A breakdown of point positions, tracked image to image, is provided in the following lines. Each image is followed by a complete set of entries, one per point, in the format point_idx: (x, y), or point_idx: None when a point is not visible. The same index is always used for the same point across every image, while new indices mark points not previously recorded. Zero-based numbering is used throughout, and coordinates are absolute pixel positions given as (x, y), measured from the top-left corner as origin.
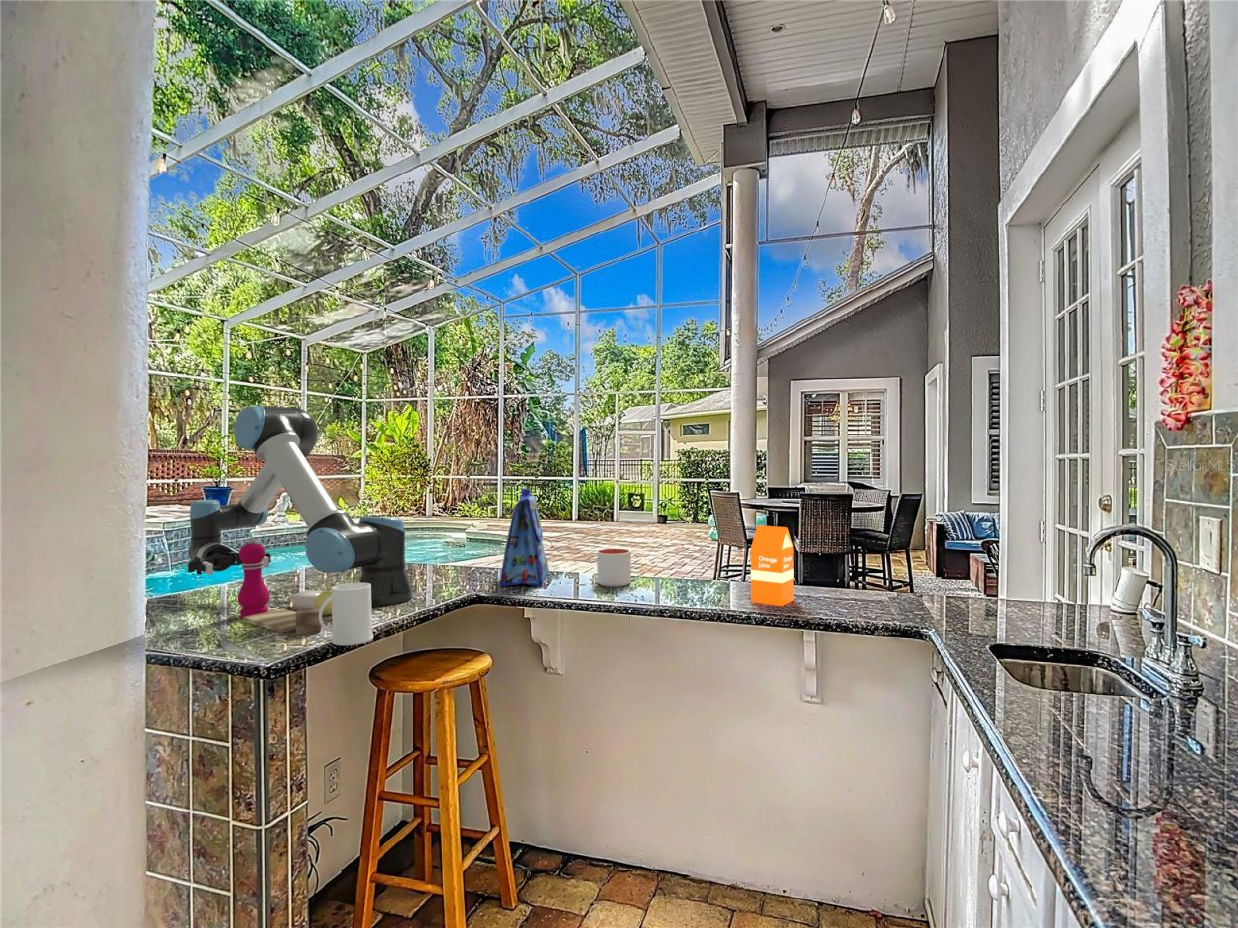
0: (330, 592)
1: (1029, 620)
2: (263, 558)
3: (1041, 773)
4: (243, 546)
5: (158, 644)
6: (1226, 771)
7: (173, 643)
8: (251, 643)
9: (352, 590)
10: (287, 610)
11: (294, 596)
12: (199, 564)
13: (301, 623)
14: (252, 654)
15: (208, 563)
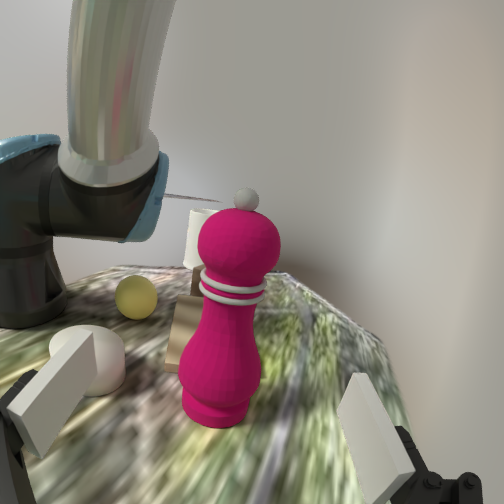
0: (135, 275)
1: None
2: (76, 358)
3: (182, 198)
4: (271, 222)
5: (384, 358)
6: (165, 193)
7: (367, 351)
8: (281, 305)
9: (218, 211)
10: (171, 348)
11: (120, 353)
12: (419, 475)
13: None
14: (289, 289)
15: (373, 399)
